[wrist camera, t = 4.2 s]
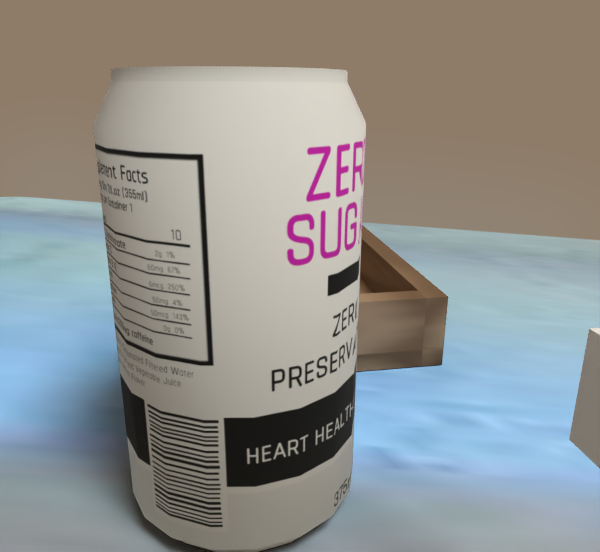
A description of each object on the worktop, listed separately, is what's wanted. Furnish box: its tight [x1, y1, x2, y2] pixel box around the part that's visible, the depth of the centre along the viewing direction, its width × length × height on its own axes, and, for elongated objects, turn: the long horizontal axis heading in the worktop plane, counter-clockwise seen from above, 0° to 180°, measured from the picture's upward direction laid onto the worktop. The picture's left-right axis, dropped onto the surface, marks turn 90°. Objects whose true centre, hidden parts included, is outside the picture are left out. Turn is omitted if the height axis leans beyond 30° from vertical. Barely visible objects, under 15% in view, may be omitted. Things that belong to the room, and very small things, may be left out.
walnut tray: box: [356, 225, 448, 371], centre depth 37 cm, size 16×17×4 cm
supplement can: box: [93, 66, 366, 552], centre depth 19 cm, size 8×8×15 cm
